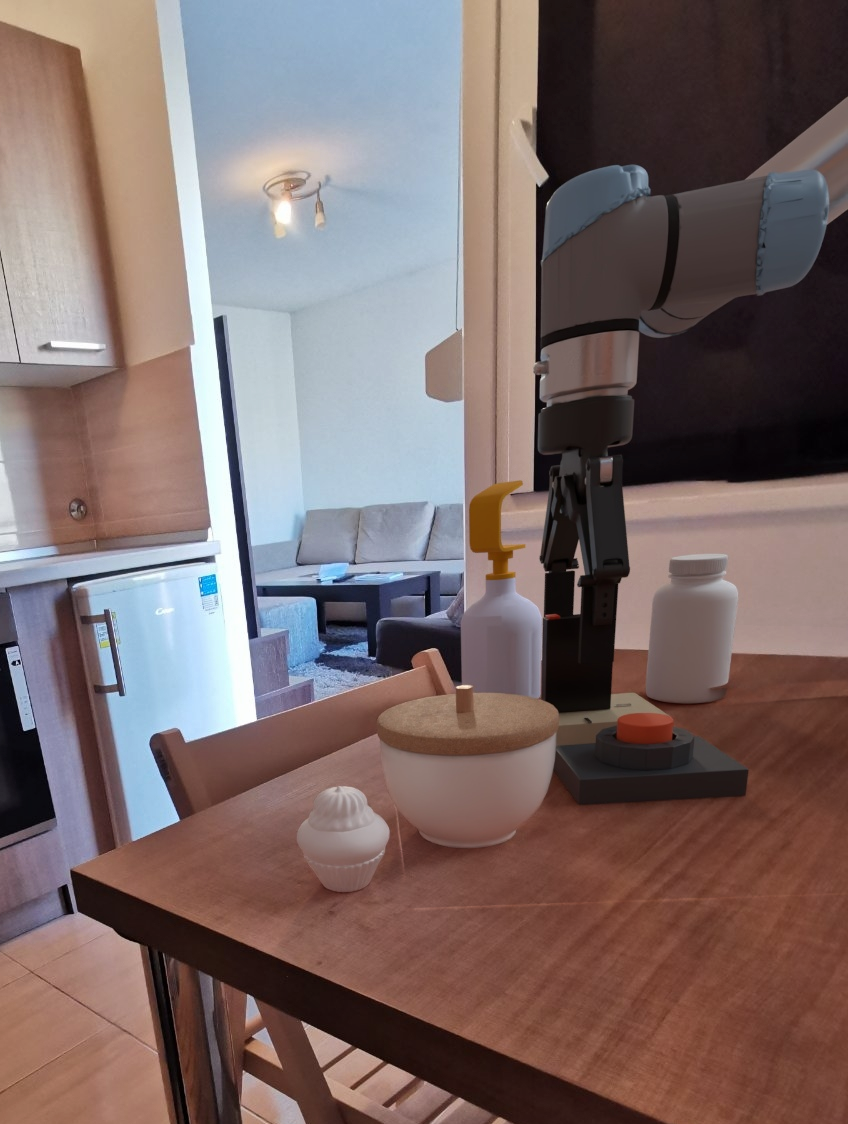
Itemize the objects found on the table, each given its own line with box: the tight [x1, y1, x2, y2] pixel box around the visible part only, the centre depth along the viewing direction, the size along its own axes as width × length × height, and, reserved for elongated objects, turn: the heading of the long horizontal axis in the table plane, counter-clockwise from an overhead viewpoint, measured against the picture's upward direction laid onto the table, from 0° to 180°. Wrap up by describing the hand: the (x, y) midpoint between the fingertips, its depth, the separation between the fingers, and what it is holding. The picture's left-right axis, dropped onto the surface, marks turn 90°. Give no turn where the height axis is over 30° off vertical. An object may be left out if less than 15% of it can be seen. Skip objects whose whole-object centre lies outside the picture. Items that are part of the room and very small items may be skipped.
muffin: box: [296, 785, 391, 893], centre depth 51 cm, size 6×6×7 cm
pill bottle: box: [645, 553, 739, 705], centre depth 82 cm, size 8×8×15 cm
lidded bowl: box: [376, 684, 559, 849], centre depth 56 cm, size 13×13×11 cm
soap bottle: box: [460, 479, 543, 699], centre depth 88 cm, size 9×9×25 cm
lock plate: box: [556, 692, 670, 746], centre depth 75 cm, size 14×10×3 cm
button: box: [616, 713, 675, 744], centre depth 61 cm, size 4×4×2 cm
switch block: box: [553, 726, 750, 806], centre depth 62 cm, size 12×9×4 cm
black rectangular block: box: [540, 613, 614, 713], centre depth 72 cm, size 6×2×9 cm, turn 82°
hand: (574, 649), depth 72 cm, fingers open, 13 cm apart
